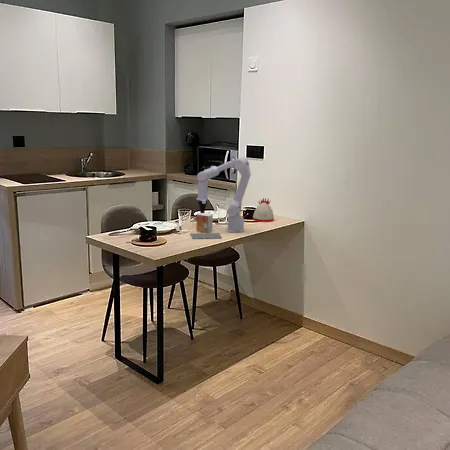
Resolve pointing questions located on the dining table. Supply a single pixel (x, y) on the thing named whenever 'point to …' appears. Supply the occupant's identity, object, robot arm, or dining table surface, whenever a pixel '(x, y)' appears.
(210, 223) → the small box
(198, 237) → the mat
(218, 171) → the robot arm
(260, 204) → the spiked white dome
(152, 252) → the dining table surface
